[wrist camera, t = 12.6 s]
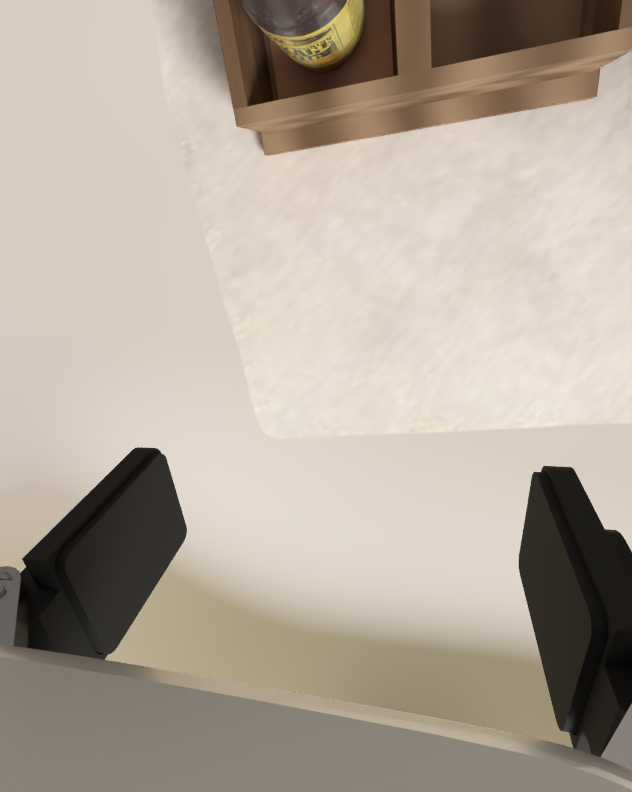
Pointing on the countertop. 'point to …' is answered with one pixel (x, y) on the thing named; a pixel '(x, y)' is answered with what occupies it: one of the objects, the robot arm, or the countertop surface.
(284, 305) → the countertop surface
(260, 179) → the countertop surface
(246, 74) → the caddy
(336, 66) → the sauce bottle
